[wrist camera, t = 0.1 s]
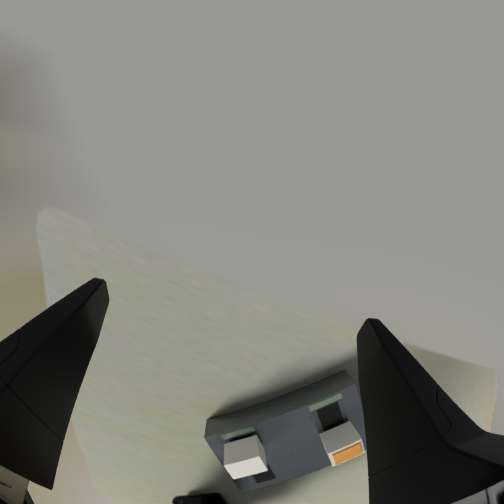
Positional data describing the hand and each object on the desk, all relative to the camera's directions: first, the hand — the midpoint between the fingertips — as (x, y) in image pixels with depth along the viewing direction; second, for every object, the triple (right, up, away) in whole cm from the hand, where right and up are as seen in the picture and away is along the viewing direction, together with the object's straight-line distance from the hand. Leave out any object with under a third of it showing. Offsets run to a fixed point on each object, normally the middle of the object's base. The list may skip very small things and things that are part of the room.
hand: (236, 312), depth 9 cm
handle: (0, -15, +12) cm, 19 cm away
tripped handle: (+8, -15, +13) cm, 21 cm away
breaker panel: (+4, -16, +16) cm, 23 cm away
